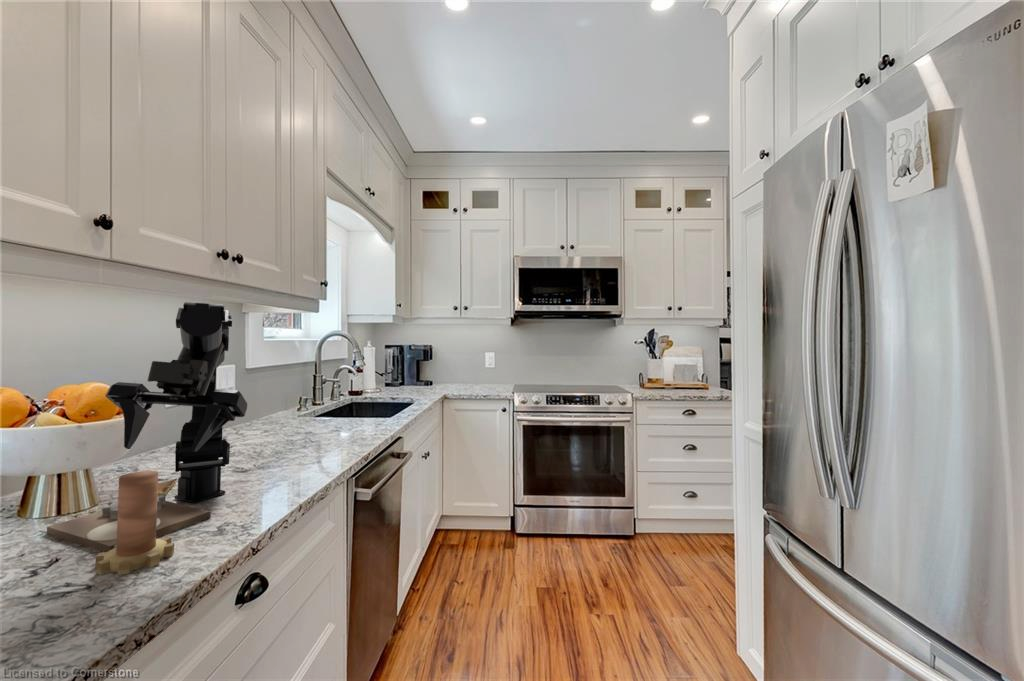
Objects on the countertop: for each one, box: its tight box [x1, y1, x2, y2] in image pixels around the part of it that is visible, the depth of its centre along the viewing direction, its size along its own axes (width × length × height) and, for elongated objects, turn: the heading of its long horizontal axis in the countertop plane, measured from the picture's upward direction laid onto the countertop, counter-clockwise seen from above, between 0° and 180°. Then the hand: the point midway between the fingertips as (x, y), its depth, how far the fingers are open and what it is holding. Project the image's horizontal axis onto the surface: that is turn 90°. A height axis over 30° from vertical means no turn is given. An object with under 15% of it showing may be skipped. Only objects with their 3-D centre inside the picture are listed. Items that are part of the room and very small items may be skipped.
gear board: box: [46, 495, 211, 553], centre depth 75 cm, size 15×17×4 cm
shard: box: [157, 478, 178, 497], centre depth 91 cm, size 11×8×2 cm
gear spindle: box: [94, 470, 175, 576], centre depth 63 cm, size 9×9×12 cm
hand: (160, 449), depth 68 cm, fingers open, 9 cm apart
